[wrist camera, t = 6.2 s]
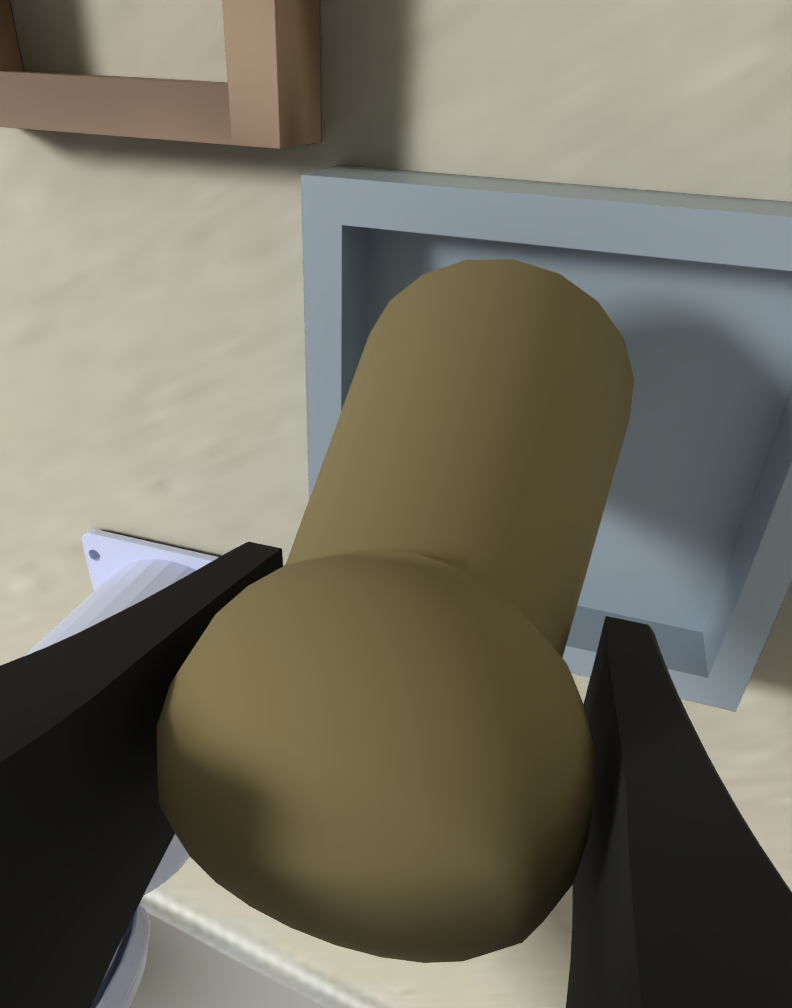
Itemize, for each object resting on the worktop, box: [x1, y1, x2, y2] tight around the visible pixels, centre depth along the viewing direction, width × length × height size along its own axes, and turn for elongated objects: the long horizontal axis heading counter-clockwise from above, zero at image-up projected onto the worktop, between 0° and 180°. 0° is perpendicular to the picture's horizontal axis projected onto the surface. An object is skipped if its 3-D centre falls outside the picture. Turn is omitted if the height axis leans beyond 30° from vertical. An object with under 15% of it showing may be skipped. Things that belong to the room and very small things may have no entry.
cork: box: [157, 259, 634, 963], centre depth 11 cm, size 6×6×11 cm
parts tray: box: [301, 165, 792, 712], centre depth 19 cm, size 13×13×2 cm
